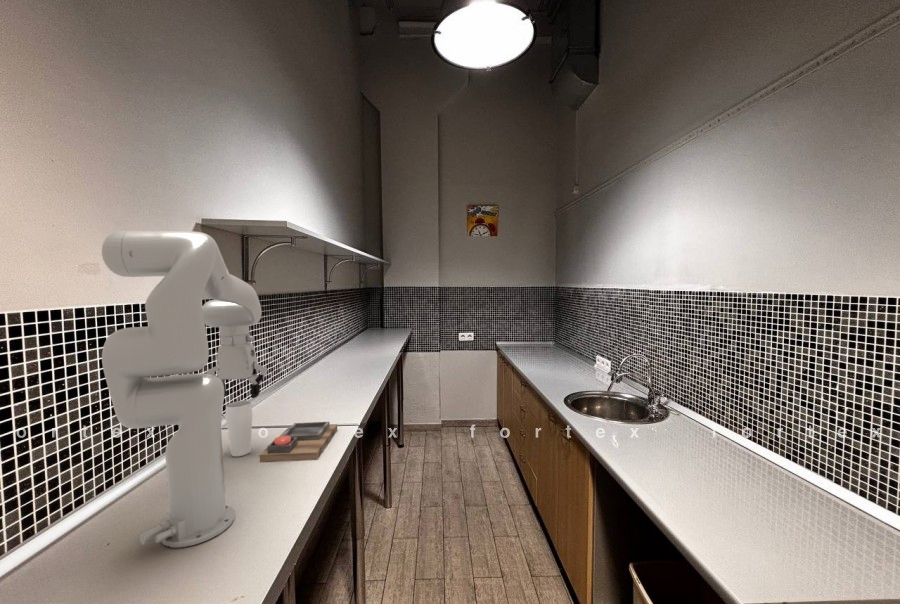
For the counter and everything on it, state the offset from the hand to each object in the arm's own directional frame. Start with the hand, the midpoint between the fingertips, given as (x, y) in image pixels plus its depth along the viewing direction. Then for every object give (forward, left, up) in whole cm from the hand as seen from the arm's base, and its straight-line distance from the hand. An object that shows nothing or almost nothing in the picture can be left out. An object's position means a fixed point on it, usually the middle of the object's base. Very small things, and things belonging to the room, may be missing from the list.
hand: (238, 397), depth 112 cm
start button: (+4, -13, -14) cm, 20 cm away
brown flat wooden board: (+12, -12, -17) cm, 24 cm away
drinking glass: (0, 0, -17) cm, 17 cm away
